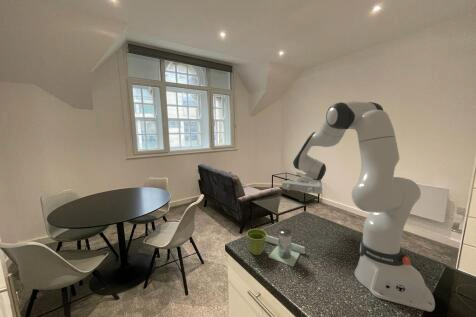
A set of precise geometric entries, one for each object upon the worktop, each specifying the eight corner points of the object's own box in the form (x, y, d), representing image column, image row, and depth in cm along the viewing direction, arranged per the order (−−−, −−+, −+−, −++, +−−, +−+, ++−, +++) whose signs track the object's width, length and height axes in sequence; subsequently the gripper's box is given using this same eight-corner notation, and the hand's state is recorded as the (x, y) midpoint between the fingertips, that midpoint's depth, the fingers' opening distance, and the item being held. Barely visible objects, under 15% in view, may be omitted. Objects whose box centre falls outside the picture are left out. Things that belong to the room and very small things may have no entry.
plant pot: (266, 246, 95) (266, 229, 94) (267, 258, 86) (267, 240, 84) (247, 244, 96) (247, 228, 95) (245, 257, 87) (246, 238, 85)
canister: (293, 253, 88) (293, 230, 87) (288, 260, 83) (289, 236, 82) (280, 249, 91) (281, 227, 90) (275, 256, 87) (276, 232, 85)
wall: (304, 253, 89) (304, 247, 89) (303, 254, 89) (304, 247, 88) (264, 239, 100) (264, 234, 100) (264, 240, 100) (264, 235, 99)
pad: (299, 254, 89) (300, 253, 89) (292, 266, 80) (293, 265, 80) (277, 246, 95) (277, 245, 95) (268, 257, 86) (268, 256, 86)
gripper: (286, 176, 113) (277, 181, 102) (324, 180, 102) (319, 186, 91) (286, 187, 114) (277, 193, 102) (324, 192, 103) (318, 199, 91)
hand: (297, 189), depth 96 cm, fingers open, 8 cm apart
